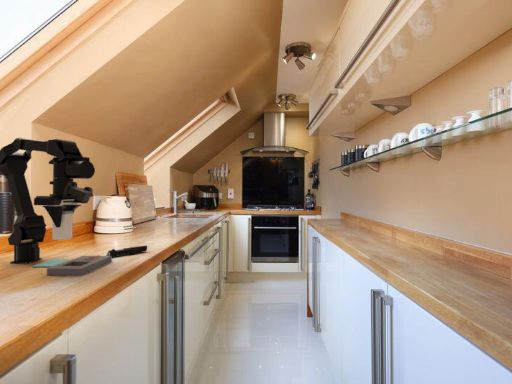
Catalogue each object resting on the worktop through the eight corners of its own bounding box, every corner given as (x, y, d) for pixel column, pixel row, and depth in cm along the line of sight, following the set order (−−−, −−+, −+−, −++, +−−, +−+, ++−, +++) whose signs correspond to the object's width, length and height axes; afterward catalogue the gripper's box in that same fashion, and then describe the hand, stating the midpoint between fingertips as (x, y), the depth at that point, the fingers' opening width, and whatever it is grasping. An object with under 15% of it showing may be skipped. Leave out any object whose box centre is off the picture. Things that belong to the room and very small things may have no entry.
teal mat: (32, 267, 100) (32, 265, 100) (53, 260, 110) (53, 259, 110) (63, 267, 99) (63, 266, 99) (81, 260, 109) (81, 259, 109)
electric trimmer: (149, 253, 125) (149, 245, 125) (109, 259, 113) (109, 250, 113) (144, 252, 127) (144, 244, 128) (105, 257, 116) (105, 249, 116)
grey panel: (46, 275, 90) (46, 266, 90) (82, 261, 108) (82, 254, 108) (81, 275, 90) (81, 267, 90) (111, 261, 108) (111, 254, 108)
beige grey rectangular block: (51, 239, 100) (52, 211, 100) (60, 237, 104) (60, 210, 104) (64, 240, 100) (65, 211, 100) (72, 238, 104) (72, 211, 104)
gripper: (69, 177, 92) (68, 231, 93) (102, 180, 111) (101, 224, 111) (32, 177, 93) (31, 230, 93) (71, 179, 111) (71, 223, 112)
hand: (62, 226), depth 102 cm, fingers closed on beige grey rectangular block, 4 cm apart
